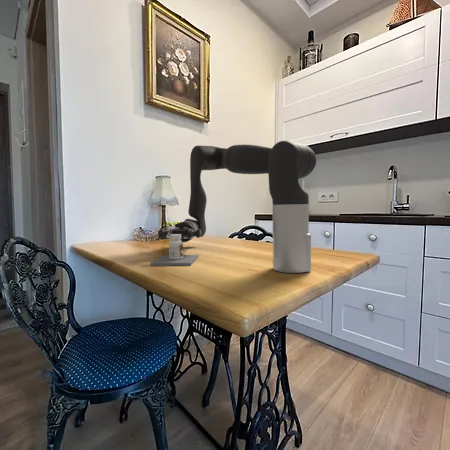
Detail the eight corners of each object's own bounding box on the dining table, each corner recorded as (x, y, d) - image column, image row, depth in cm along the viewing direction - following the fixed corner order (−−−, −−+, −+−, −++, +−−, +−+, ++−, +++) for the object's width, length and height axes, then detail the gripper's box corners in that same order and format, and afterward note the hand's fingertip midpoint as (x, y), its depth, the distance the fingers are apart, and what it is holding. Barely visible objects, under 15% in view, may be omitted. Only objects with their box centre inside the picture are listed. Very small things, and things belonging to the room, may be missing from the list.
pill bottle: (184, 259, 82) (183, 234, 81) (170, 260, 80) (169, 235, 80) (182, 256, 86) (181, 233, 85) (168, 257, 84) (168, 234, 84)
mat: (198, 256, 89) (198, 254, 89) (190, 265, 76) (190, 263, 75) (164, 257, 90) (164, 254, 90) (150, 265, 76) (150, 263, 76)
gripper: (167, 221, 98) (152, 224, 82) (204, 221, 97) (196, 223, 81) (167, 241, 99) (153, 247, 82) (204, 240, 98) (197, 247, 81)
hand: (175, 235), depth 82 cm, fingers open, 8 cm apart
